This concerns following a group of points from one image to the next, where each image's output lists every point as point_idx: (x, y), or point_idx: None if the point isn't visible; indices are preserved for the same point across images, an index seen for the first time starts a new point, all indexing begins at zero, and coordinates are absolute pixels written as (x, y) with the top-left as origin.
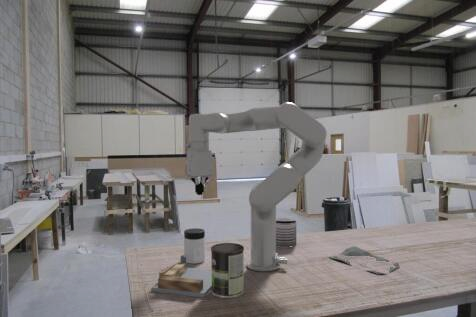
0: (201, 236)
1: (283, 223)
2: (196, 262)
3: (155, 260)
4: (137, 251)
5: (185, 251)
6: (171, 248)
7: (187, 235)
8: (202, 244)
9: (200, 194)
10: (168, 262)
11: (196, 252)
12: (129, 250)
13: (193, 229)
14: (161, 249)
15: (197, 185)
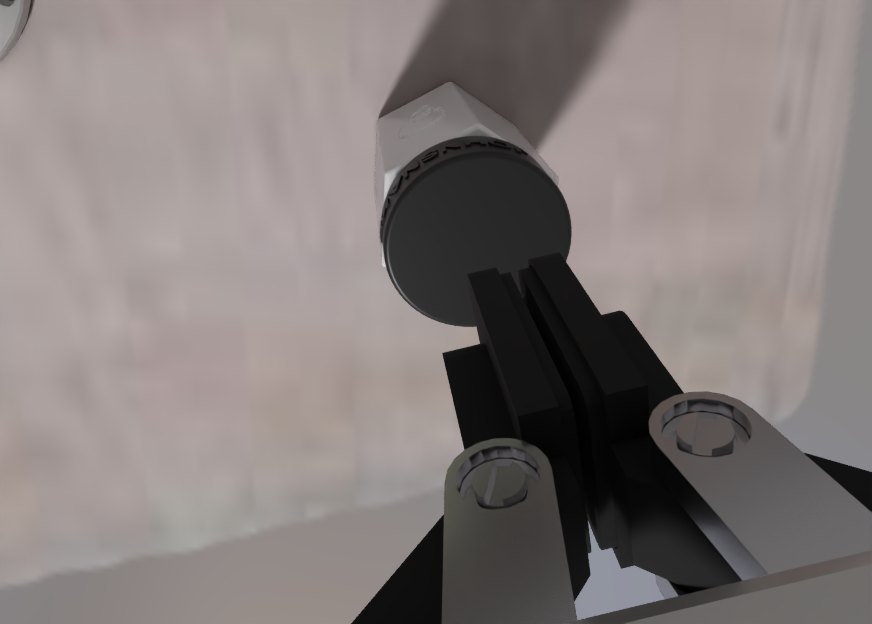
0: (410, 166)
1: None
2: (432, 90)
3: (691, 189)
4: (769, 362)
5: (524, 140)
6: None
7: (541, 167)
8: (396, 148)
9: (510, 279)
10: (616, 139)
11: (441, 106)
12: (808, 382)
13: None
14: None
15: (650, 415)
